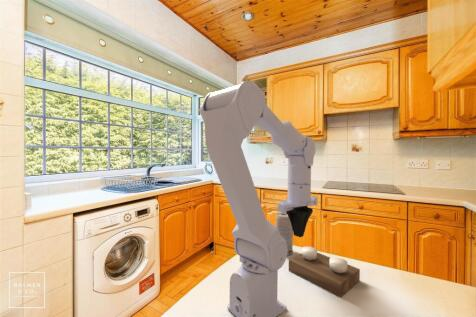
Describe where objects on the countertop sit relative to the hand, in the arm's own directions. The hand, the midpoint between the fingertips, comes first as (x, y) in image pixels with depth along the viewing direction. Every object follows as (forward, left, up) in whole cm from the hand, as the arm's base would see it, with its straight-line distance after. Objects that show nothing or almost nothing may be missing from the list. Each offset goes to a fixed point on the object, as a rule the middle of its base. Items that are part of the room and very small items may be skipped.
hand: (298, 235), depth 55 cm
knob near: (+5, -8, -10) cm, 14 cm away
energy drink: (+8, +11, -11) cm, 17 cm away
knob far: (+5, 0, -10) cm, 12 cm away
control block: (+5, -4, -10) cm, 12 cm away
